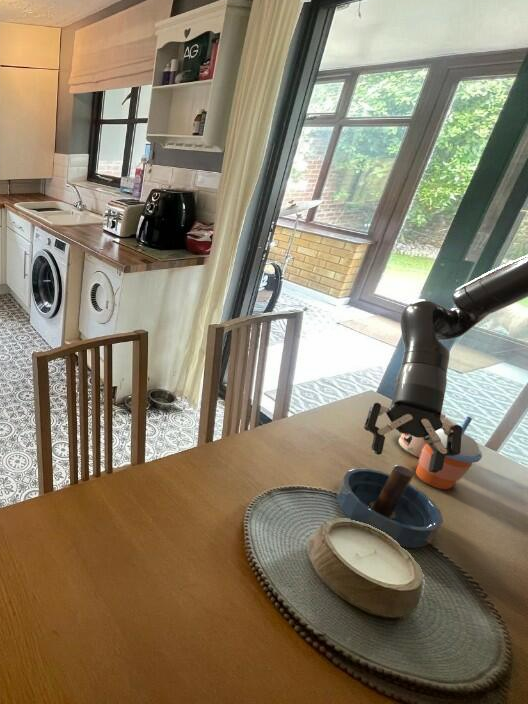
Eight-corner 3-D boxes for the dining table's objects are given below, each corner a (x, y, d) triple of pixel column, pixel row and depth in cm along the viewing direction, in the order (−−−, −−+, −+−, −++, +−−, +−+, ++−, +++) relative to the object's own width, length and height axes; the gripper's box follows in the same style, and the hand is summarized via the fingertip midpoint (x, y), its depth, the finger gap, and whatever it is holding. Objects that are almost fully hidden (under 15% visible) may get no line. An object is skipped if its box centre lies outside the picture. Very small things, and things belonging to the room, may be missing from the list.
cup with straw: (409, 459, 102) (441, 399, 94) (460, 479, 96) (499, 418, 88) (405, 478, 96) (439, 417, 88) (459, 501, 90) (501, 438, 82)
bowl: (423, 508, 89) (434, 489, 86) (437, 564, 77) (450, 545, 75) (335, 476, 97) (343, 458, 94) (335, 523, 85) (345, 504, 83)
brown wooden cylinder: (393, 511, 87) (416, 468, 82) (395, 525, 84) (420, 482, 79) (367, 501, 89) (388, 459, 84) (368, 515, 86) (390, 472, 81)
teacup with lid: (397, 432, 111) (415, 397, 106) (443, 448, 105) (464, 411, 100) (396, 456, 102) (416, 419, 97) (446, 475, 97) (470, 436, 92)
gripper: (382, 373, 87) (366, 445, 83) (475, 396, 80) (462, 476, 76) (371, 382, 93) (355, 450, 90) (457, 404, 86) (444, 479, 82)
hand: (404, 462), depth 83 cm, fingers open, 8 cm apart
